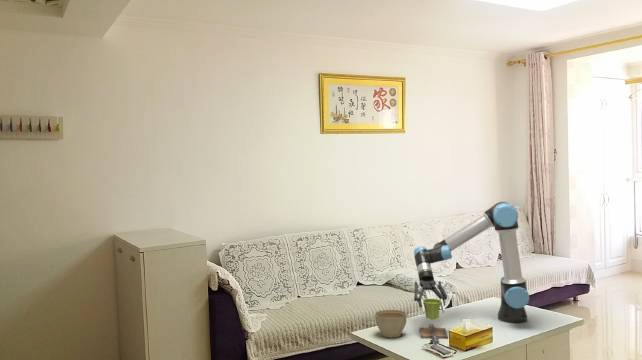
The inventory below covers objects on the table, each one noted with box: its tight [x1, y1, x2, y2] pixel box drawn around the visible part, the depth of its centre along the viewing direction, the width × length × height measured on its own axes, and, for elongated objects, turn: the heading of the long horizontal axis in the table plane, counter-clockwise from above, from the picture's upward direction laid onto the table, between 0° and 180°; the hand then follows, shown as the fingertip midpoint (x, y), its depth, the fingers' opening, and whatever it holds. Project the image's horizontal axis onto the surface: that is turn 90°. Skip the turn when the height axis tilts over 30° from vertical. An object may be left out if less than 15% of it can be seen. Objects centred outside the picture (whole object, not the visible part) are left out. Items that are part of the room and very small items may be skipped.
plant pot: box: [423, 298, 442, 320], centre depth 270 cm, size 9×9×9 cm
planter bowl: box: [374, 309, 408, 338], centre depth 271 cm, size 16×16×11 cm
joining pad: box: [418, 327, 449, 340], centre depth 270 cm, size 13×13×1 cm
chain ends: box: [428, 323, 440, 344], centre depth 269 cm, size 3×26×2 cm, turn 173°
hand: (433, 312), depth 267 cm, fingers closed on plant pot, 9 cm apart
